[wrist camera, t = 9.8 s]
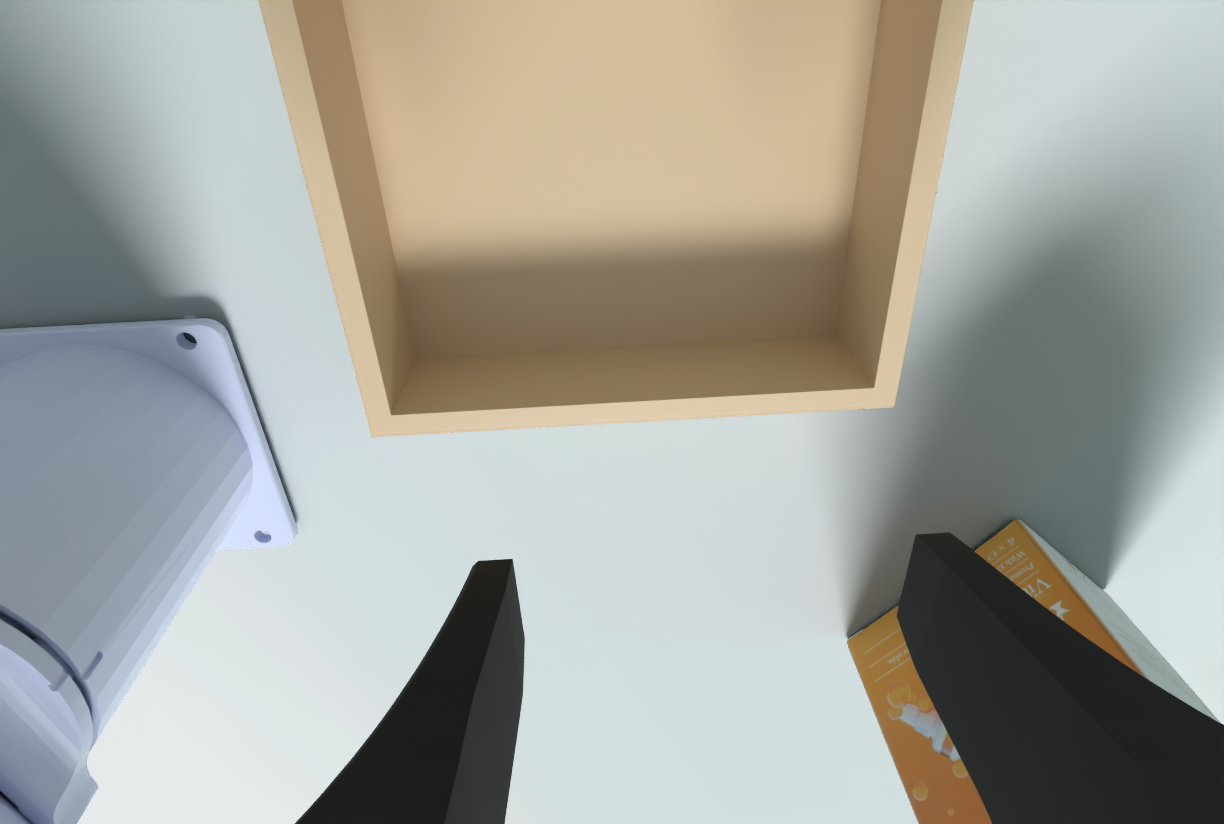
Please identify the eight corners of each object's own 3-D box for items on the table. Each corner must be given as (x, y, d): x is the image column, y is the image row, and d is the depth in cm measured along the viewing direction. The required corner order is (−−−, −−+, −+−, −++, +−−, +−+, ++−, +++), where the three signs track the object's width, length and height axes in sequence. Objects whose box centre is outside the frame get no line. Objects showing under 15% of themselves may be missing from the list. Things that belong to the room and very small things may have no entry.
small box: (1014, 511, 25) (1376, 947, 13) (1108, 591, 27) (1484, 1020, 16) (837, 639, 28) (1014, 1082, 17) (936, 701, 30) (1149, 1127, 19)
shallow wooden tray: (401, 371, 21) (371, 437, 18) (284, -159, 14) (207, -196, 11) (848, 346, 21) (894, 407, 18) (928, -187, 15) (1018, -230, 12)
